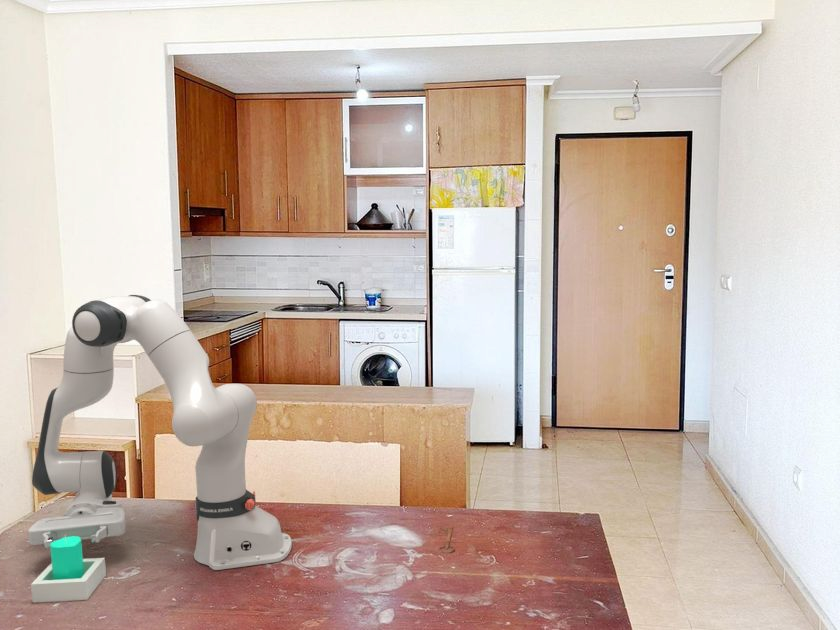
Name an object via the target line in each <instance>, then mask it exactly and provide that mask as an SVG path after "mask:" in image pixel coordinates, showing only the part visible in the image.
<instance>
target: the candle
mask: <svg viewBox="0 0 840 630" xmlns="http://www.w3.org/2000/svg"><path fill="white" fill-rule="evenodd" d="M50 557H51V563H52V571H53V580H60V579H79V578H82V577H83V575H84V565H83V559H84V555H83V544H82V540H81V539H80V538H79V536H70V537H66V535H65V537H64V538H62V539H59V540H56V541H54V542H52V543H51V544H50Z"/></svg>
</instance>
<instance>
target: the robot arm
mask: <svg viewBox="0 0 840 630" xmlns="http://www.w3.org/2000/svg"><path fill="white" fill-rule="evenodd" d="M71 324H72V325H71V327H70V328H69V330H68V331H67V334H66V337H65V343H64V351H63V365H62V366H63V373H62V379H61V381H60V383H59V385H58V387H55V388H53V389H51V391H50V393H49V395H48V398H47V400H46V404H45V407H44V408H45V409H44V413H43V418H42V423H41V424H42V425H41V430H40V436H39V441H38V446H37V453H36V457H35V460H34V464H33V468H32V471H31V481H32V482H31V484H32V486H33V487H34V489H36V490H37V491H38V492H40V493H41V494H43V495H44V496H48V495H57V494H61V493H62V494H63V493H76V494H75V495H74V497H73V499H72V501H71V502H70V504H69V505H68V507H67V508H66V510H65V512H64V514H63V516H62V515H61V516H56V517H55V516H54V517H46V518H41V519H38V520H37V521H36V522H35V523H33V524H32V525H31V526H30V527H29V528H28V530H27V538H28V539H27V541H28V544H29V545H32V546H39V545H44V549H49V548H50V544H51V543H52V542H54V541H56V540H59V539H62V538H64V537H65V535H66V537H70V536H79V538H80V539H81V541H84V540H91V543H92V544H93V543H95V544H96V543H100V540H102V539H104V538H107V537H108V538H110V537H118V536H122V535H124V534H125V533H126V531H127V530H126V517H125V516H126V515H125V510H124V507H123V503H122V501H120V500H119V501H117V500H112V499H113V492H115V489H116V486H117V482H118V481H117V480H118V470H117V462H116V461H115V459H114V458H113V457H112V455H110V453H108V452H107V451H106V450H98V451H96V450H94V451H90V450H89V451H87V450H86V451H70V452H68V451H67V452H66V451H65V452H63V451H60V450H59V442H60V437H61V431H62V425H63V421H64V419H65V418H66V417H67V416H68V415H70V414H72V413H74V412H76V411H79V410H82V409H85V408H87V407H90V406H92V405H95V404H96V403H98V402H100V401H102V400H103V399H104V398H106V396H108V394H109V393H110V392H111V390H112V388H113V383H114V371H115V369H114V365H115V364H114V352H115V348H116V346H118V344H125V343H128V342H131V341H136V342H137V343H138V344H139V345H140V346H141V347H142V349H143V350H144V352H145V354H146V355H147V357H148V359H149V360H150V361H151V363H152V364H153V366H154V367H155V369H156V370H157V372H158V374H159V375H160V377H161V378H162V380H163V382H164V383H165V385H166V387H167V390H168V392H169V396H170V398H171V403H172V408H173V414H172V418H171V419H172V420H171V428H172V431H173V434H174V436H175V437H176V439H177V440H178V441H179V442H180V443H182V444H183V445H186V447H187V446H188V447H200V446H202V447H201V450H200V452H199V455H198V457H197V458H196V462H195V466H194V469H195V483H196V497H195V501H194V502H195V503H194V504H195V507H194V508H195V517H196V521H197V536H196V542H195V543H196V544H195V549H194V553H193V558H194V560H195V561H196V562H197V563H200V564H202V565H206V566H209V568H210V569H212V571H213V570H214V571H221V570H226V569H227V570H228V569H236V568H243V567H248V566H249V567H250V566H256V565H264V564H271V563H278V562H281V561H282V560H284V559H285V558H287V557H288V555H289V554H290V553H291V550H292V547H293V542H292V538H291V536H290V534H287V533H285V532H282V529H281V524H280V522H279V519H278V518H277V517H276V516H274V515H273V514H271V513H269V512H268V511H266V510H265V509H262V508H261V507H260V506H257V505H256V491H255V490H254V491H253V492H250V491H249V490H248V489H247V486H246V465H245V464H246V450H247V446H248V445H247V444H248V440H249V434H250V429H251V428H250V427H251V424H252V420H253V417H254V415H255V414H256V411H257V408H258V401H257V396H256V394H255V393H254V391H253V390H252V389H251V388H250V387H249V386H247V385H246V384H244V383H226V384H222V385H220V386H218V387H215V386H214V383H213V382H212V379H211V376H210V372H209V366H210V358H209V357H210V356H209V355H208V354H207V352H206V351H205V349H204V348H203V346H202V345H201V344H200V342H199V341H198V339H197V337H196V336H195V335H194V333H193V332H192V330H191V328H190V327H189V326H188V324H187V323H186V322H185V321H184V320H183V318H182V317H181V316H180V315H179V313H178V312H177V311H176V310H175V309H174V308H173V307H172V306H171V305H169V303H167V302H166V301H164V300H161V299H152V300H151V299H150V298H148V297H146V296H143V295H140V294H129V295H121V296H120V295H119V296H115V295H114V296H109V297H105V298H100V299H98V300H97V299H96V300H95V299H94V300H90V301H88V302H85V303H84V304H82V305H81V306H80V307H78V308H77V309H76V310H75V311H74V314H73V316H72V321H71Z"/></svg>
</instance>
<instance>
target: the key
mask: <svg viewBox="0 0 840 630" xmlns="http://www.w3.org/2000/svg"><path fill="white" fill-rule="evenodd" d="M453 528H454V525H453V524H451V525H449V526H444V527H439V530H438V534H446V535H447V537H446V541H445V545H444V546H442V547H441V546H440V547H439V548H438V550H437V551H438V552H439V553H441V554H451V553H453V552H454V551H455V550H456V549H455V547H453V546H451V545H450V543H451V539H452V534H453V533H452V532H453ZM442 549H445V550H442ZM448 549H450V550H448Z"/></svg>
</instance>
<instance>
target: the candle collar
mask: <svg viewBox="0 0 840 630" xmlns="http://www.w3.org/2000/svg"><path fill="white" fill-rule="evenodd" d="M105 559H106V557H95V558H93V557H92V558H90V557H89V558H83V565H84V575H83V577H82V578H79V579H60V580H53V571H52V562H51V563H50V564H49V565H48V566H46V568H44V570H43V571H42V572H41V573H40V574H39V575H38V576H37V578H36V579H35V580H33V582H31V583H30V589H31V590H30V591H31V601H32V603H52V602H68V601H69V602H70V601H87V600H88V599H89V598H90V597H91V595H92V594H93V592H95V590H96V589H97V588H98V587H99V585H100V584H101V582H102V581H103V580H104V579H105V577H106V576H107V570H106V569H107V567H106V560H105Z"/></svg>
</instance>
